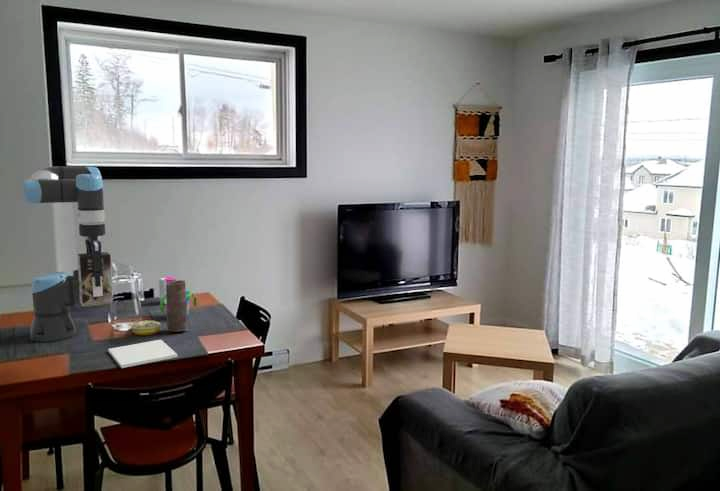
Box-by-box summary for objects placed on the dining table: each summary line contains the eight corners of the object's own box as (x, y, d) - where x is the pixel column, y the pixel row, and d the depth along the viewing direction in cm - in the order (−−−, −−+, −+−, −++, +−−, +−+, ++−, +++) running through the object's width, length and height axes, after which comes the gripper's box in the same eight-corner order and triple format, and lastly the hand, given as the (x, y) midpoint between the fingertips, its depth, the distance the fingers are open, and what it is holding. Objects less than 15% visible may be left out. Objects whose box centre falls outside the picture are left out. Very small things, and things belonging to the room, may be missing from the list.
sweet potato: (181, 335, 213) (179, 284, 210) (163, 333, 214) (161, 282, 211) (191, 329, 220) (189, 279, 217) (174, 327, 222) (172, 278, 218)
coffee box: (82, 306, 177) (79, 256, 174) (79, 302, 182) (76, 253, 180) (113, 303, 182) (110, 254, 179) (109, 298, 187) (107, 251, 185)
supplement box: (164, 305, 253) (163, 280, 251) (159, 302, 257) (158, 278, 256) (177, 303, 257) (176, 278, 255) (171, 300, 261) (170, 276, 259)
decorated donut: (158, 326, 223) (158, 317, 223) (162, 334, 214) (162, 324, 213) (130, 329, 219) (130, 320, 218) (133, 337, 209) (133, 328, 209)
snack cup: (192, 310, 245) (192, 288, 244) (201, 316, 237) (200, 293, 235) (156, 316, 236) (155, 292, 234) (164, 322, 228) (163, 298, 226)
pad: (108, 351, 194) (108, 348, 194) (161, 342, 205) (161, 339, 205) (121, 368, 180) (121, 365, 180) (177, 357, 191) (177, 354, 190)
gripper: (74, 220, 184) (79, 288, 187) (83, 227, 168) (88, 301, 172) (99, 219, 188) (103, 286, 192) (110, 225, 172) (114, 298, 176)
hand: (96, 293), depth 182 cm, fingers closed on coffee box, 6 cm apart
